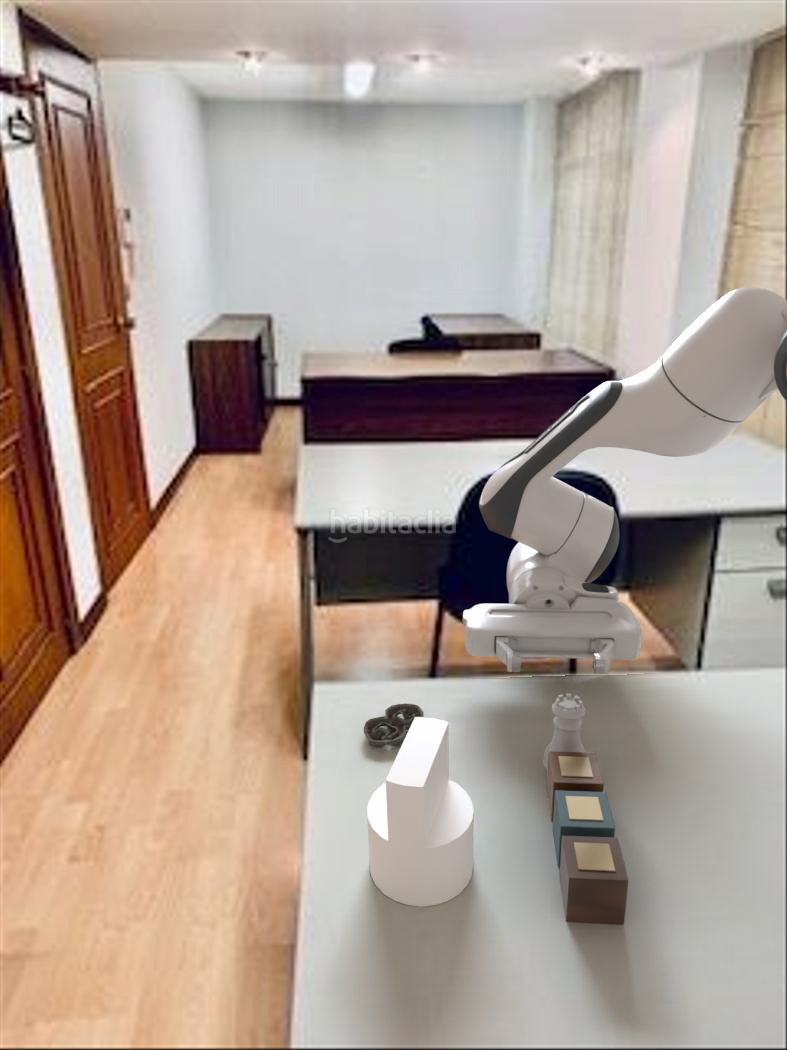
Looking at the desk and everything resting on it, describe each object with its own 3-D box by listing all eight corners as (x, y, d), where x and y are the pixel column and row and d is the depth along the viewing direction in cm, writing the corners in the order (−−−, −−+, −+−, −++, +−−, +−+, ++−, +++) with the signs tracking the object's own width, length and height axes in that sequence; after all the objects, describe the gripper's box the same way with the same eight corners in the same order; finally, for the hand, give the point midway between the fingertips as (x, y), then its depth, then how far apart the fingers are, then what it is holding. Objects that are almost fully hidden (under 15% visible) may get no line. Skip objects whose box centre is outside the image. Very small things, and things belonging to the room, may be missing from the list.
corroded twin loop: (434, 721, 85) (434, 713, 85) (387, 756, 80) (386, 748, 79) (400, 704, 88) (400, 697, 88) (353, 737, 83) (352, 729, 82)
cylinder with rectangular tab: (460, 917, 61) (461, 796, 57) (355, 893, 63) (347, 775, 59) (482, 837, 69) (483, 725, 65) (387, 818, 71) (383, 710, 67)
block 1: (593, 790, 74) (596, 751, 72) (600, 823, 70) (604, 783, 68) (546, 788, 74) (548, 750, 73) (551, 821, 70) (553, 781, 69)
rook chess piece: (534, 760, 78) (537, 694, 76) (570, 749, 80) (574, 683, 77) (559, 787, 75) (563, 718, 72) (596, 774, 76) (602, 706, 73)
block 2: (613, 879, 64) (617, 836, 62) (624, 924, 60) (628, 879, 58) (559, 877, 64) (562, 834, 63) (565, 921, 60) (568, 877, 58)
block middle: (602, 831, 69) (606, 790, 67) (611, 870, 65) (615, 827, 63) (552, 829, 69) (554, 788, 68) (558, 867, 65) (560, 825, 64)
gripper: (462, 585, 95) (462, 640, 82) (629, 587, 93) (655, 644, 81) (462, 629, 97) (462, 689, 85) (625, 632, 96) (650, 694, 83)
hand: (558, 667), depth 83 cm, fingers open, 8 cm apart
